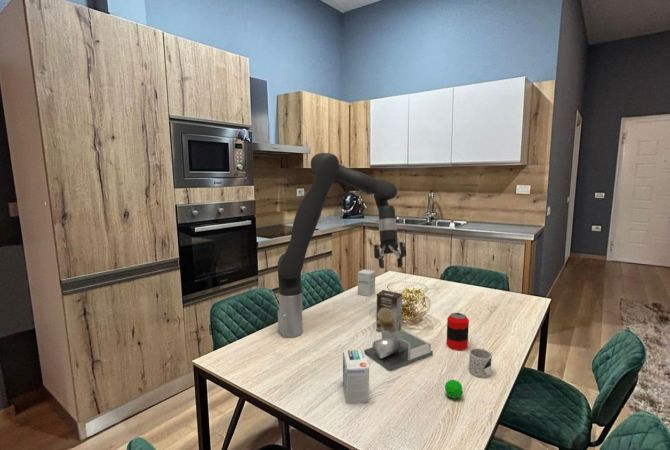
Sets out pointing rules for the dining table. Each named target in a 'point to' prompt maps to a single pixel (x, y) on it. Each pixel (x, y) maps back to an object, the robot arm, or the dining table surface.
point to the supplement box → (366, 282)
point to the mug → (480, 363)
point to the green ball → (453, 389)
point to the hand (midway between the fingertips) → (390, 267)
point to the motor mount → (398, 349)
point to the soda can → (457, 331)
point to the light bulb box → (355, 376)
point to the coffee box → (389, 311)
